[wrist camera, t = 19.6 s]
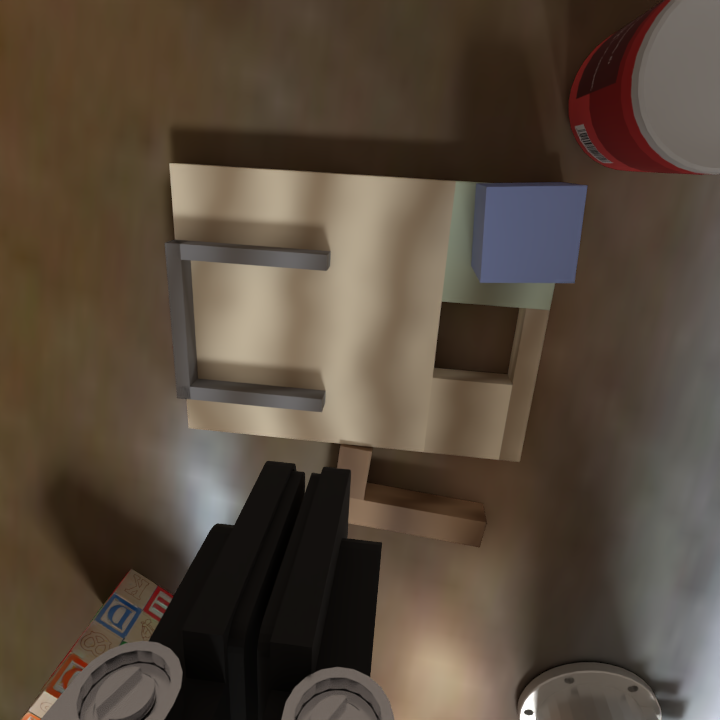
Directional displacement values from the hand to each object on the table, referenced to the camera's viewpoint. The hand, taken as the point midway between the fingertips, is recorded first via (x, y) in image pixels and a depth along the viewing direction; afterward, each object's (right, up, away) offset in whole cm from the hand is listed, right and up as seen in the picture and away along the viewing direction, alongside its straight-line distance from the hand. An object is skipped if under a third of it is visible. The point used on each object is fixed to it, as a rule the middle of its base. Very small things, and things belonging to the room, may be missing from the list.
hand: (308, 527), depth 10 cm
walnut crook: (+5, -6, +31) cm, 32 cm away
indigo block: (+11, +12, +21) cm, 27 cm away
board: (+1, +7, +27) cm, 27 cm away
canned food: (+17, +19, +20) cm, 33 cm away
